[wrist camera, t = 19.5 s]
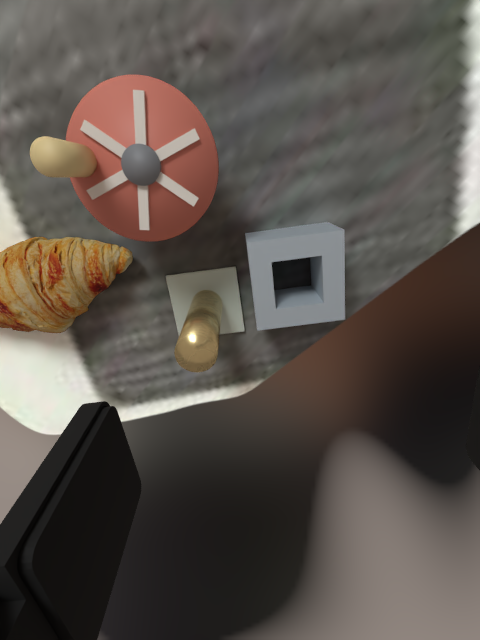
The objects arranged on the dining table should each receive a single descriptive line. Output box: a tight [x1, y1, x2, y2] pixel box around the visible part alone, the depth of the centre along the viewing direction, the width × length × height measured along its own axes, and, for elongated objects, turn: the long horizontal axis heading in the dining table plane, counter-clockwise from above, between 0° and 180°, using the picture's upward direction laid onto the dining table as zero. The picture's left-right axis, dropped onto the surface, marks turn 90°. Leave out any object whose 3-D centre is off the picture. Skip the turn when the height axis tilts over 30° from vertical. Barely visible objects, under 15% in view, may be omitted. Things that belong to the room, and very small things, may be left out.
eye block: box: [245, 222, 345, 331], centre depth 35 cm, size 9×9×6 cm
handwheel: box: [30, 75, 219, 241], centre depth 25 cm, size 12×12×6 cm
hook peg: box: [175, 290, 223, 372], centre depth 34 cm, size 4×4×12 cm
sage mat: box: [166, 266, 245, 336], centre depth 39 cm, size 8×8×1 cm
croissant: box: [0, 237, 133, 333], centre depth 36 cm, size 21×10×8 cm, turn 110°
